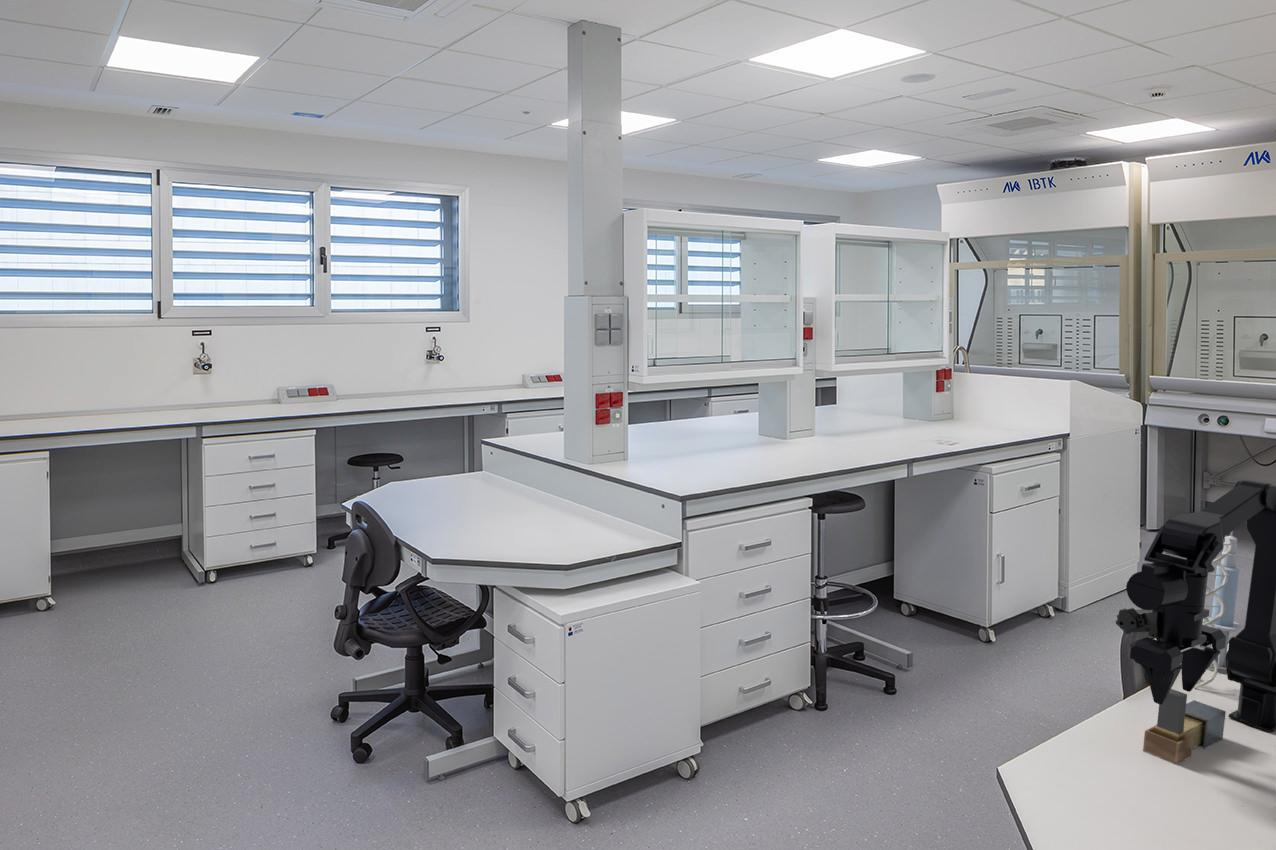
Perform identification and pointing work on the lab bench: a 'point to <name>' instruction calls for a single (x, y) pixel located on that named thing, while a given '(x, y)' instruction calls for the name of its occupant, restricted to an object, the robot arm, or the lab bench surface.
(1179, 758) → the socket
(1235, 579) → the pale blue cylinder
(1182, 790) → the lab bench surface
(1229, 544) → the dna model
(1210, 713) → the grey end cap
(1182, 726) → the grey and tan block
